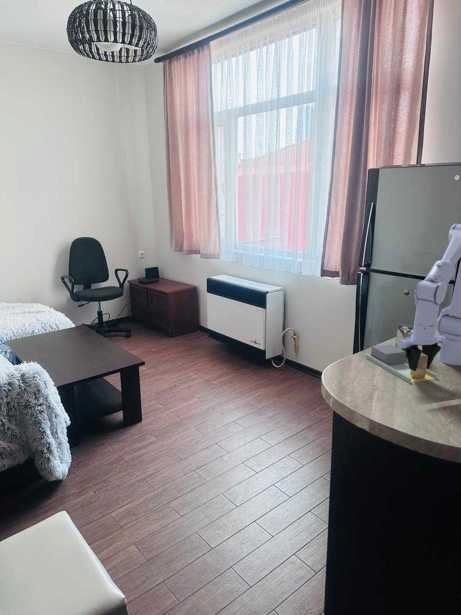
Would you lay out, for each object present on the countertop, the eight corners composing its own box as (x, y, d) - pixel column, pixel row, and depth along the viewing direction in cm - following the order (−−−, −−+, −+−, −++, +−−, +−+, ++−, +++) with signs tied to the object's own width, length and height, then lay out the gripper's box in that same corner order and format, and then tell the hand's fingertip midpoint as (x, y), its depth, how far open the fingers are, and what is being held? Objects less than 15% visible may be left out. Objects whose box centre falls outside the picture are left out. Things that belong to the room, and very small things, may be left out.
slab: (389, 355, 140) (391, 344, 139) (404, 363, 133) (406, 351, 132) (370, 358, 137) (371, 346, 136) (384, 366, 131) (386, 354, 130)
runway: (390, 357, 141) (391, 351, 141) (436, 381, 123) (437, 374, 122) (364, 360, 138) (365, 354, 137) (408, 386, 120) (409, 378, 119)
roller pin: (418, 371, 125) (420, 352, 124) (428, 376, 122) (431, 357, 120) (407, 373, 124) (409, 353, 123) (417, 378, 121) (419, 358, 119)
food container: (421, 365, 135) (425, 335, 132) (400, 364, 136) (404, 334, 133) (412, 352, 146) (416, 324, 144) (394, 350, 147) (397, 323, 145)
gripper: (434, 317, 125) (428, 360, 128) (394, 321, 120) (388, 366, 124) (454, 324, 118) (446, 369, 122) (412, 328, 114) (405, 375, 117)
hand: (418, 368), depth 122 cm, fingers closed on roller pin, 4 cm apart
